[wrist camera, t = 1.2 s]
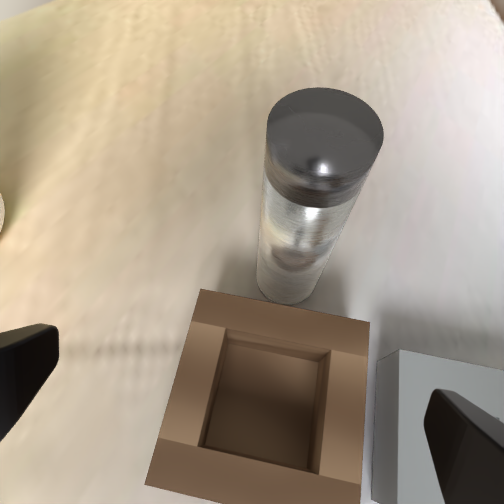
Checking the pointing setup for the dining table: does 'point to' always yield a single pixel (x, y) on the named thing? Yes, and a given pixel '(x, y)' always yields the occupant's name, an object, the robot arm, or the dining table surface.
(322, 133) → the cylinder
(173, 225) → the dining table surface
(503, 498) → the robot arm
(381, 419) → the slate block
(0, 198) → the wine bottle
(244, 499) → the walnut block
